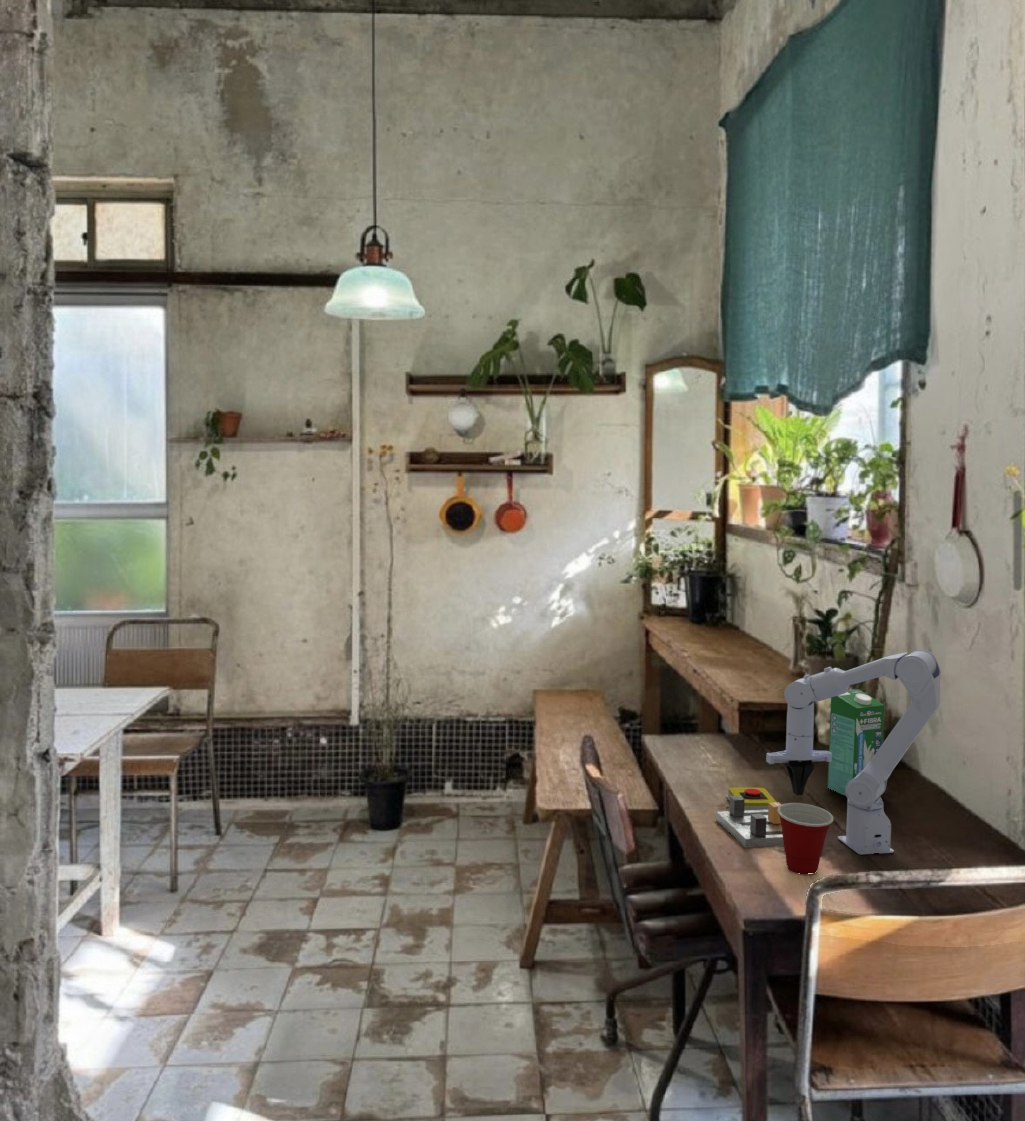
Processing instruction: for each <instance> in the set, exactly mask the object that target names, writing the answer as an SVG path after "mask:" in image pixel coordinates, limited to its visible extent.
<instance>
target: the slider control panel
mask: <svg viewBox="0 0 1025 1121" xmlns="http://www.w3.org/2000/svg"><path fill="white" fill-rule="evenodd" d="M744 804H745V800H744V799H743V798H742V797H741V796H730V802H729V809H728V810H727V811H726V810H724V811H716V822H717V823H719V825H720V826H722V827H723V828H724V829H725V830H726V831H727V830H728V831H729V832H730V833H731V834H730V833H729V832H728V831H727V832H728V833H729V834H730V835H733V836H734V837H735V838H736V839H737V840H738V841H737V840H736V839H735V838H734V837H733V836H732V837H733V838H734V839H735V840H736V841H737V842H738V843H740V844H741V845H742V846H743V847H744V848H745V849H757V848H773V847H774V848H775V846H778V847H784V842H783V834H782V826H781V824H773V823H772V822H770V821H769V820H768V810H745V811H744Z"/></svg>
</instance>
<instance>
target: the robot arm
mask: <svg viewBox="0 0 1025 1121" xmlns="http://www.w3.org/2000/svg"><path fill="white" fill-rule="evenodd" d="M907 654H908V655H907ZM941 673H942V670H941V667H940V665H939V662H938V661H937V658H936V657H935V655H934V654H933V653H932V652H931V651H928V650H926V649H916V650H913V651H911V652H910V653H909V652H908V651H907V652H906V651H905V652H901V653H897V654H891V655H888V656H885V657H882V658H879V659H877V660H873V661H870V662H867V663H865V664H862V665H859V666H857V667H853V668H851V669H848V670H844V669H840V668H839V667H834V668H832V666H828V667H825V668H824V669H823V671H821V672H818V673H815V674H811V675H810V674H806V675H804V676H803V678H798V679H797V680H794V681H793V682H791V683H788V685H787V686H786V687H785V689H784V691H783V692H784V700H785V701H786V703H787V710H786V730H785V731H786V732H785V733H786V736H785V739H786V740H785V750H781V751H776V752H767V753H766V754H765V755H766V758H765V759H766V760H765V761H766V763H768V764H769V765H774V764H780V763H782V764H783V765H784V767H785V769H786V771H787V773H788V776H789V780H790V784H791V788H792V793H793V794H794V795H795V796H803V795H804V791H805V787H806V784H807V782H808V780H809V778H810V776H811V774H812V772H814V770H815V764H814V763H813V762H827V763H829V762H831V761H832V753H831V752H829V750H815V749H814V725H815V722H814V721H815V702H823V701H826V700H829V699H831V698H832V697H835V696H838V695H841V694H845V693H846V692H847V691H848V690H849V688H850V686H852V685H857V684H860V683H863V682H866V681H871V680H874V679H877V678H881V677H885V678H887V679H891V680H893V681H896V680H897V679H898V680H899V681H900V682H901V684H902V685H903V687H904V688H905V689H906V690H907V692H908V695H909V699H910V705H909V706H908V707H907V709H906V710H905V711H904V713H903V714H902V716H901V717H900V719H899V720H898V721H897V723H896V724H895V726H894V727H893V729H891V731H890V733H889V734H888V736H887V737H886V739H885V740H883V744H882V746H881V747H880V748H879V750H878V751H877V753H876V754H875V755H874V757H873V758H872V760H871V761H870V762H869V764H868V765H867V766H866V767H865V768H864V770H862V771H860V772H859V773H858V775H857V776H856V777H855V778H854V779H852V780H850V781H849V782H848V784H847V785H846V789H845V793H846V796H845V797H846V799H847V803H846V805H847V806H846V807H847V808H846V830H845V835H840V836H837V839H838V840H839V841H841V842H842V843H843V844H844V845H846V846H847V847H848V848H850V850H852V851H854V852H855V853H856V854H858V855H874V853H879V854H894V853H895V850H894V849H893V848H891V838H892V837H891V835H892V823H891V820H890V819H889V817H888V816H887V815H886V813H885V811H884V809H885V808H884V801H883V799H882V797H881V795H883V794H884V793H885V791H886V790H887V789H886V788H887V783H888V779H889V778H890V776H891V774H892V772H893V771H894V769H895V768H896V767H897V765H898V764H899V762H900V761H901V760H902V759H903V757H904V756H905V754H906V752H907V751H908V750H909V748H910V747H911V746H912V744H913V743H914V742H915V740H916V738H918V736H919V734H920V733H921V732H922V731H923V729H924V727H925V726H926V725H927V723H928V722H929V721H930V719H932V717H933V716H934V714H935V713H936V712H937V710H938V708H939V706H940V704H941V676H942V674H941ZM893 852H894V853H893Z"/></svg>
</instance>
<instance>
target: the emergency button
mask: <svg viewBox="0 0 1025 1121" xmlns="http://www.w3.org/2000/svg"><path fill="white" fill-rule="evenodd" d="M727 792H728V793H727V794H726V795H725V797H726V796H728V799H727V801H728V800H729V801H730V796H741V797H742V798H743V799H744V800H745V804H744V811H745V810H768V803H776V802H777V800H775V799H774V797H773V796H772V795H771V794H770V793H769V792H768V790H766V788H764V787H729V788H728V791H727ZM729 801H728V802H729Z"/></svg>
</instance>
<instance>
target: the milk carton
mask: <svg viewBox="0 0 1025 1121" xmlns="http://www.w3.org/2000/svg"><path fill="white" fill-rule="evenodd" d="M829 718H830V719H829V721H830V722H829V741H828V742H829V744H828V745H829V747H828V751H829V752H831V753H832V761H831V762H828V764H827V765H828V767H827V768H828V770H827V789H828V788H829V789H828V790H830V789H831V790H830V791H833V790H834V792H835V791H836V793H837V794H840V795H843V796H845V797H846V793H845V789H846V785H847V784H848V782H849V781H850V780H852V779H854V778H855V777H856V776H857V775H858V773H859V772H860V771H862V770H864V768H865V767H866V766H867V765H868V764H869V762H870V761H871V760H872V758H873V757H874V755H875V754H876V753H877V751H878V750H879V748H880V747H881V746H882V744H883V743H884V725H885V724H884V723H885V704H883V703H882V702H881V701H878V700H877V699H875V698H874V697H872V696H871V695H869V694H867V693H866V692H864V691H863V690H860V689H859V688H855V689H848V691H847V692H846V693H845V694H841V695H838V696H835V697H832V698H830V716H829Z"/></svg>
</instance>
